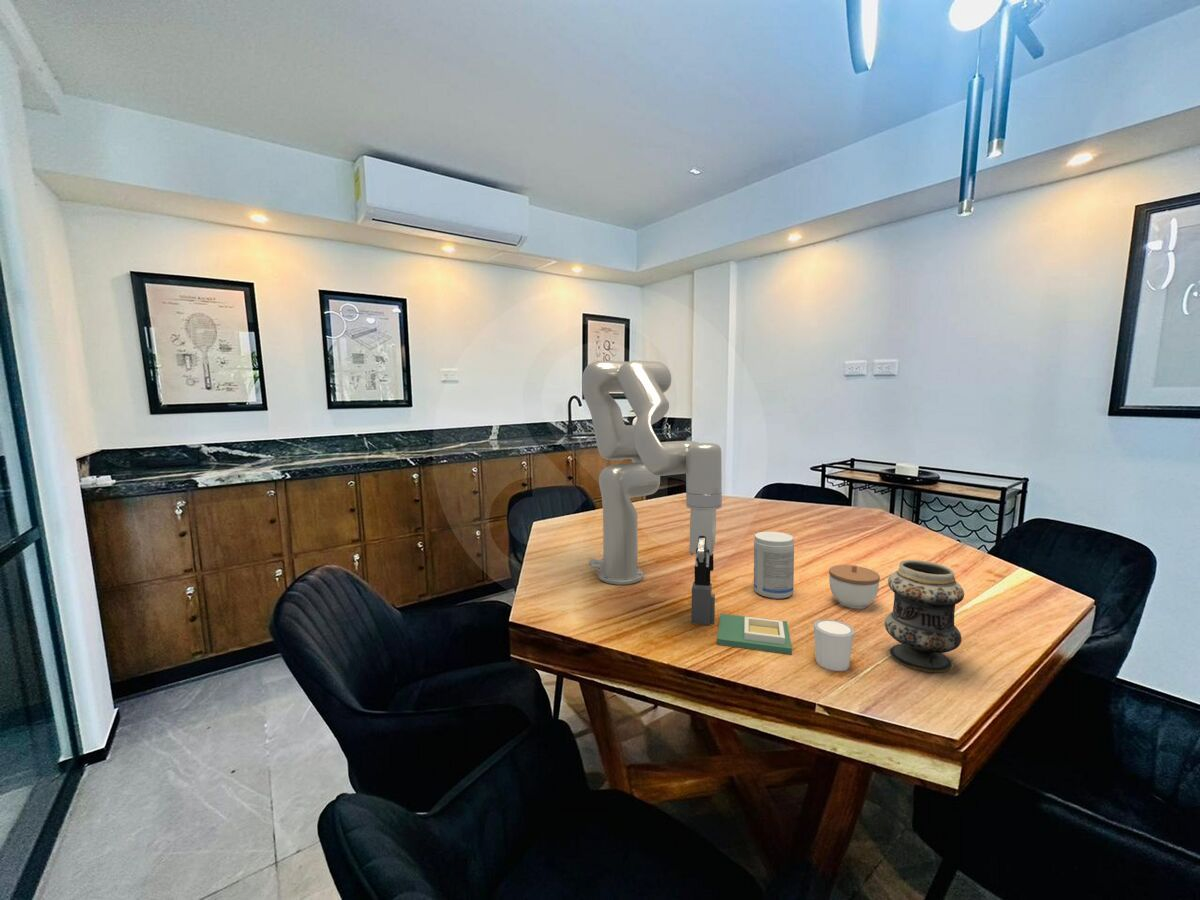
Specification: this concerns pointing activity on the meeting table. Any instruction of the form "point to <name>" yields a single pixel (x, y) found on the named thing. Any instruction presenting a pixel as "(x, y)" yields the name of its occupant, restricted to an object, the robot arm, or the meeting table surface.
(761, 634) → the board
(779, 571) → the supplement tub
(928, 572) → the apothecary jar
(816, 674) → the meeting table surface
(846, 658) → the white cylinder
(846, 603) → the lidded jar
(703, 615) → the plug
